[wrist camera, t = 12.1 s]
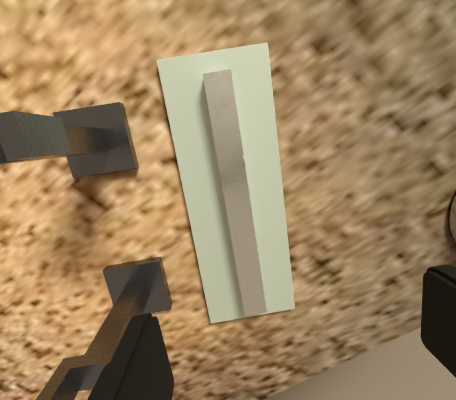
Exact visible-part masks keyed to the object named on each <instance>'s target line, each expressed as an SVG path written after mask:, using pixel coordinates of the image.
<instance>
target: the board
mask: <svg viewBox="0 0 456 400" xmlns="http://www.w3.org/2000/svg"><path fill="white" fill-rule="evenodd" d="M157 65H158V70H159V75H160V80H161V85H162V89H163V94H164V99H165V104H166V109H167V114H168V119H169V123H170V128H171V133H172V138H173V143H174V148H175V152H176V157H177V162H178V167H179V172H180V177H181V182H182V186H183V191H184V196H185V201H186V206H187V211H188V216H189V220H190V225H191V230H192V235H193V240H194V245H195V249H196V254H197V259H198V264H199V269H200V274H201V279H202V283H203V288H204V293H205V298H206V303H207V308H208V313H209V317H210V322H211V324H212V323H217V322H223V321H229V320H234V319H240V318H245V317H251V316H257V315H262V314H268V313H273V312H279V311H285V310H290V309H295V304H294V294H293V285H292V275H291V265H290V255H289V246H288V236H287V226H286V216H285V207H284V197H283V187H282V178H281V168H280V158H279V148H278V139H277V129H276V119H275V109H274V100H273V90H272V80H271V70H270V61H269V51H268V43H262V44H255V45H249V46H242V47H236V48H229V49H223V50H216V51H210V52H203V53H197V54H190V55H184V56H177V57H171V58H164V59H158V60H157ZM228 69H231V73H232V80H233V87H234V93H235V100H236V107H237V114H238V120H239V127H240V134H241V141H242V147H243V154H244V161H245V167H246V174H247V181H248V188H249V194H250V201H251V208H252V215H253V221H254V228H255V235H256V241H257V248H258V255H259V262H260V268H261V275H262V282H263V289H264V295H265V302H266V309H267V312H265V313H260V314H254V315H249V316H245V313H244V308H243V303H242V297H241V291H240V286H239V280H238V274H237V268H236V263H235V257H234V251H233V246H232V240H231V234H230V229H229V223H228V217H227V212H226V206H225V200H224V195H223V189H222V183H221V177H220V172H219V166H218V160H217V155H216V149H215V143H214V138H213V132H212V126H211V121H210V115H209V109H208V104H207V98H206V92H205V87H204V81H203V74H204V73H210V72H216V71H222V70H228Z"/></svg>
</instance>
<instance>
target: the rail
mask: <svg viewBox="0 0 456 400" xmlns="http://www.w3.org/2000/svg"><path fill="white" fill-rule="evenodd" d="M203 81H204V87H205V92H206V98H207V104H208V109H209V115H210V121H211V126H212V132H213V138H214V143H215V149H216V155H217V160H218V166H219V172H220V177H221V183H222V189H223V195H224V200H225V206H226V212H227V217H228V223H229V229H230V234H231V240H232V246H233V251H234V257H235V263H236V268H237V274H238V280H239V286H240V291H241V297H242V303H243V308H244V313H245V316H249V315H254V314H260V313H265V312H267V309H266V302H265V295H264V289H263V282H262V275H261V268H260V262H259V255H258V248H257V241H256V235H255V228H254V221H253V215H252V208H251V201H250V194H249V188H248V181H247V174H246V167H245V161H244V154H243V147H242V141H241V134H240V127H239V120H238V114H237V107H236V100H235V93H234V87H233V80H232V73H231V69H228V70H222V71H216V72H210V73H204V74H203Z"/></svg>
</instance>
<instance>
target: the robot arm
mask: <svg viewBox="0 0 456 400" xmlns="http://www.w3.org/2000/svg"><path fill="white" fill-rule="evenodd" d="M450 229H451V233H452V236H453V238H454V240H455V242H456V196H455V198H454V200H453V203H452V207H451V211H450ZM421 339H422V342H423V344H424V345H425V347H426V348H427V349H428V350H429V351H430V352H431V353H432V354H433V355H434V356H435V357H436V358H437V359H438V360H439V361H440V362H441V363H442V364H443V365H444V366H445V367H446V368H447V369H448V370H449V371H450V372H451V373H452V374H453V375H454V376H455V377H456V268H455V267H453V266H451V265H440V266H434V267H430V268H428V269H427V271H426V273H424V276H423V294H422V317H421ZM173 389H174V379H173V374H172V370H171V366H170V363H169V359H168V355H167V351H166V348H165V344H164V340H163V336H162V333H161V329H160V325H159V321H158V318H157V317H156V316H155V317H152V314H151V313H145V314H139V315H134V316H132V318H131V320H130V322H129V324H128V326H127V328H126V330H125V332H124V334H123V336H122V338H121V340H120V343H119V345H118V347H117V349H116V351H115V353H114V355H113V357H112V359H111V361H110V363H108V364H107V365H106V366H105V367H104V368H103V370H102V372H101V374H100V376H99V378H98V380H97V382H96V384H95V386H94V388H93V390H92V392H91V394H90V396H89V398H88V400H172V395H173Z"/></svg>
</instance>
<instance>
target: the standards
mask: <svg viewBox="0 0 456 400" xmlns="http://www.w3.org/2000/svg"><path fill="white" fill-rule="evenodd" d="M53 115H54V117H52V116H45V115H38V114H31V113H23V112H16V111H11V112H4V113H0V165H3V164H9V163H16V162H25V161H33V160H41V159H50V158H58V157H66V156H67V159H68V163H69V166H70V169H71V172H72V175H73V178H78V177H84V176H90V175H96V174H102V173H109V172H115V171H121V170H127V169H133V168H137V167H139V166H138V162H137V157H136V153H135V149H134V145H133V141H132V137H131V133H130V129H129V125H128V121H127V117H126V113H125V109H124V105H123V104H122V103H120V102H118V103H112V104H105V105H99V106H92V107H86V108H80V109H73V110H67V111H60V112H54V113H53ZM103 273H104V276H105V280H106V283H107V286H108V289H109V292H110V295H111V298H112V302H113V305H114V306H113V308H112V309H111V311H110V313H109V314H108V316H107V318H106V319H105V321H104V323H103V324H102V326H101V328H100V329H99V331H98V333H97V335H96V336H95V338H94V340H93V341H92V343H91V345H90V346H89V348H88V350H87V351H86V353H85V355H81V356H76V357H70V358H65V359H63V360H62V362H61V363H60V365H59V366H58V368H57V369H56V371H55V372H54V374H53V375H52V377H51V378H50V380H49V381H48V383H47V384H46V385H45V387H44V388H43V390H42V391H41V393H40V394H39V396H38V397H37V399H36V400H74V399H75V397H76V395H77V393H78V391H82V390H87V389H93V388H94V386H95V384H96V382H97V380H98V378H99V376H100V374H101V372H102V370H103V368H104V367H105V366H106V365H107V364H108V363H110V361H111V359H112V357H113V355H114V353H115V351H116V349H117V347H118V345H119V343H120V340H121V338H122V336H123V334H124V332H125V330H126V328H127V326H128V324H129V322H130V320H131V318H132V316H134V315H139V314H145V313H151V312H157V311H162V310H168V309H171V307H172V300H171V295H170V291H169V287H168V283H167V279H166V275H165V271H164V267H163V263H162V259H161V257H157V258H151V259H145V260H139V261H133V262H127V263H122V264H116V265H110V266H106V267H105V269H104V270H103Z"/></svg>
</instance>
